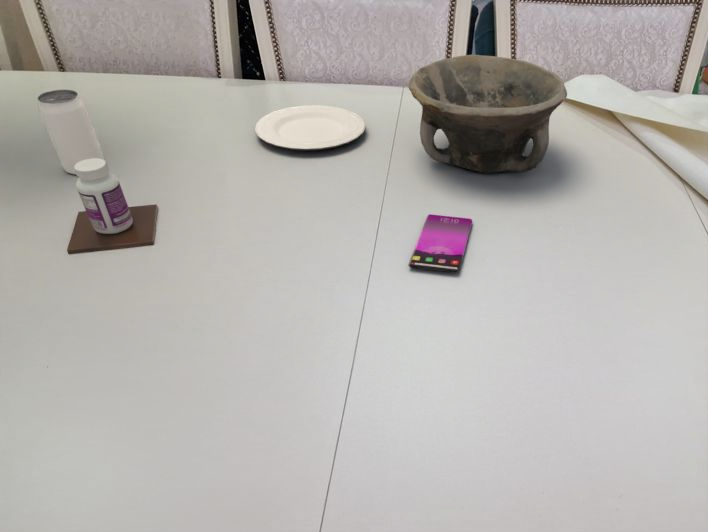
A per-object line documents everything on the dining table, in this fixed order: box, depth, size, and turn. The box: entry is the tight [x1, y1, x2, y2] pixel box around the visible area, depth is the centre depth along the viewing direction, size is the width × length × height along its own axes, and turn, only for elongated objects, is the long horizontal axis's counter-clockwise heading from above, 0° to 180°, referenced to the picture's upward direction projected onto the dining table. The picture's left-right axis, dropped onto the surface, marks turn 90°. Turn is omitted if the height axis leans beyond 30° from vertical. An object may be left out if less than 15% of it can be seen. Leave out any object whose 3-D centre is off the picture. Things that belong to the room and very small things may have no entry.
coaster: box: [66, 203, 158, 255], centre depth 91 cm, size 11×11×1 cm
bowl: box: [408, 54, 568, 174], centre depth 109 cm, size 27×26×15 cm
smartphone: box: [407, 213, 473, 274], centre depth 92 cm, size 7×15×1 cm, turn 172°
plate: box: [254, 104, 366, 151], centre depth 119 cm, size 21×21×2 cm
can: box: [37, 89, 106, 176], centre depth 101 cm, size 6×6×12 cm
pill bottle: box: [74, 158, 133, 234], centre depth 87 cm, size 5×5×10 cm
